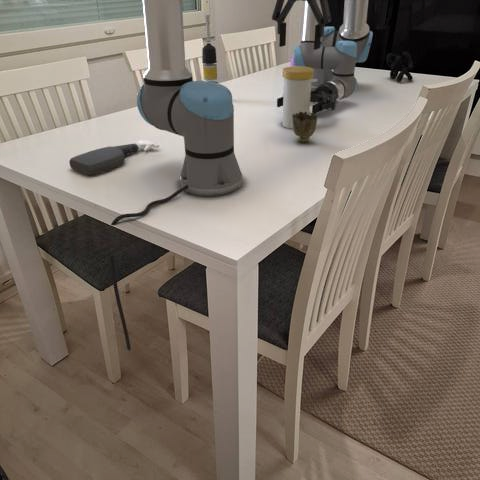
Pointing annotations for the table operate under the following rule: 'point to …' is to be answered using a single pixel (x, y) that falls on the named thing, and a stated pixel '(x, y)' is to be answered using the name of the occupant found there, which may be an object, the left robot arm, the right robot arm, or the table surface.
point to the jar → (295, 99)
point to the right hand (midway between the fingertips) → (294, 106)
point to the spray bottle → (106, 157)
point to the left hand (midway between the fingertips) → (299, 47)
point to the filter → (209, 57)
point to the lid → (298, 73)
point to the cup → (304, 125)
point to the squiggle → (399, 66)
